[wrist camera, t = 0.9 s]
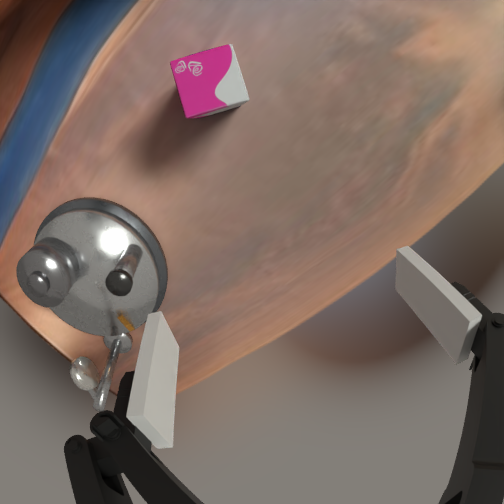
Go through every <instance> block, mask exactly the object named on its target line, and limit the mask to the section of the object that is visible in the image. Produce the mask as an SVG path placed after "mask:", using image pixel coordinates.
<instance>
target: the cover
mask: <svg viewBox="0 0 504 504" xmlns="http://www.w3.org/2000/svg"><path fill="white" fill-rule="evenodd" d="M78 275H79V263H78V259H77V257H76V255H75V253H74V252H73V250H72V249H71V248H70V247H69V246H68V245H67V244H66V243H65V242H63V241H62V240H60V239H58V238H54V237H46V238H43V239H41V240H40V241H38V242H37V243H36V244H35V245H34V246H33V247H32V248H31V249H30V250H29V251H28V252H27V253H26V254H25V255H24V256H23V257H22V258H21V259H20V260H19V262H18V265H17V279H18V282H19V285H20V287H21V288H22V290H23V292H24V293H25V294H26V295H27V296H28V297H29V298H30V299H31V300H32V301H33V302H35V303H36V304H38V305H41V306H43V307H55V306H58V305H59V304H61V303H62V301H63V300H64V299H65V297H66V295H67V294H68V292H69V291H70V289H71V288H72V286H73V285H74V283H75V282H76V280H77V278H78Z"/></svg>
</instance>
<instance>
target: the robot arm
mask: <svg viewBox="0 0 504 504" xmlns="http://www.w3.org/2000/svg"><path fill="white" fill-rule="evenodd" d="M395 289H396V291H397V292H398V293H399V294H400V295H401V297H402V298H403V299H404V300H405V301H406V302H407V304H408V305H409V306H410V307H411V308H412V310H413V311H414V312H415V313H416V314H417V316H418V317H419V318H420V319H421V321H422V322H423V323H424V324H425V325H426V327H427V328H428V329H429V331H430V332H431V333H432V334H433V336H434V337H435V338H436V339H437V341H438V342H439V343H440V345H441V346H442V347H443V348H444V350H445V351H446V352H447V354H448V355H449V356H450V358H451V359H452V360H453V362H454V363H455V364H456V365H457V364H459V363H461V362H463V361H464V360H466V359H468V357H469V354H470V351H471V350H472V352H473V353H474V354H475V356H474V358H473V361H472V363H471V366H470V369H469V370H471V369H472V377H471V385H470V392H469V399H468V406H467V412H466V417H465V422H464V427H463V432H462V437H461V441H460V445H459V449H458V453H457V457H456V460H455V464H454V468H453V471H452V474H451V478H450V481H449V484H448V486H447V488H446V490H445V491H444V493H443V495H442V497H441V500H440V502H439V504H502V502H503V498H504V314H501V313H492V312H491V311H490V310H489V309H488V308H487V307H485V306H484V305H483V304H482V303H481V302H480V301H479V300H478V299H477V298H475V296H474V295H473V294H472V293H470V291H469V290H468V289H467V288H465V287H464V286H463V285H461V284H459V283H457V282H454V283H452V284H450V283H449V282H448V281H447V280H446V279H444V278H443V277H442V276H441V275H440V274H439V273H438V272H437V271H436V270H435V269H433V268H432V267H431V266H430V265H429V264H428V263H427V262H426V261H425V260H423V259H422V258H421V257H420V256H419V255H418V254H417V253H415V252H414V251H413V250H412V249H411V248H410V247H408V246H406V247H402V248H399V249H397V255H396V288H395ZM178 358H179V346H178V344H177V342H176V340H175V338H174V336H173V334H172V332H171V330H170V328H169V326H168V324H167V322H166V320H165V318H164V316H163V314H162V312H161V311H159V312H155V313H150V314H148V317H147V321H146V325H145V329H144V333H143V338H142V342H141V346H140V351H139V355H138V360H137V364H136V369H135V371H131V372H126V373H125V375H124V376H123V378H122V379H121V381H120V386H119V391H118V394H117V399H116V403H115V408H114V413H113V412H112V411H108V410H106V411H101V412H99V413H97V414H96V415H95V416H94V417H93V418H92V420H91V422H90V430H91V432H92V433H93V434H94V435H95V436H96V437H94V438H91V439H88V440H86V439H85V438H84V437H83V436H81V435H74V436H72V437H70V438H69V439H68V440H67V441H66V443H65V446H64V453H65V458H66V463H67V468H68V472H69V477H70V481H71V485H72V489H73V493H74V497H75V500H76V504H133V503H132V500H131V498H130V496H129V493H128V491H127V488H126V486H125V484H124V481H123V479H122V476H121V473H124V474H125V475H126V477H127V478H128V479H129V481H130V482H131V483H132V485H133V486H134V487H135V489H136V490H137V491H138V492H139V494H140V495H141V496H142V497H143V498H144V500H145V501H146V502H147V503H148V504H204V503H203V502H201V501H200V500H199V499H198V498H197V497H196V496H195V495H194V494H193V493H192V492H191V491H190V490H189V489H188V488H187V487H186V486H185V485H184V484H182V482H181V481H180V480H178V479H177V477H176V476H175V475H174V474H173V473H172V472H171V471H170V470H169V469H168V468H167V467H166V466H165V465H164V464H163V463H162V462H161V461H160V460H159V458H158V457H157V456H156V455H155V454H154V453H153V452H152V451H151V443H152V444H153V445H154V446H155V447H156V448H172V447H173V432H174V413H175V396H176V382H177V370H178Z"/></svg>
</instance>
